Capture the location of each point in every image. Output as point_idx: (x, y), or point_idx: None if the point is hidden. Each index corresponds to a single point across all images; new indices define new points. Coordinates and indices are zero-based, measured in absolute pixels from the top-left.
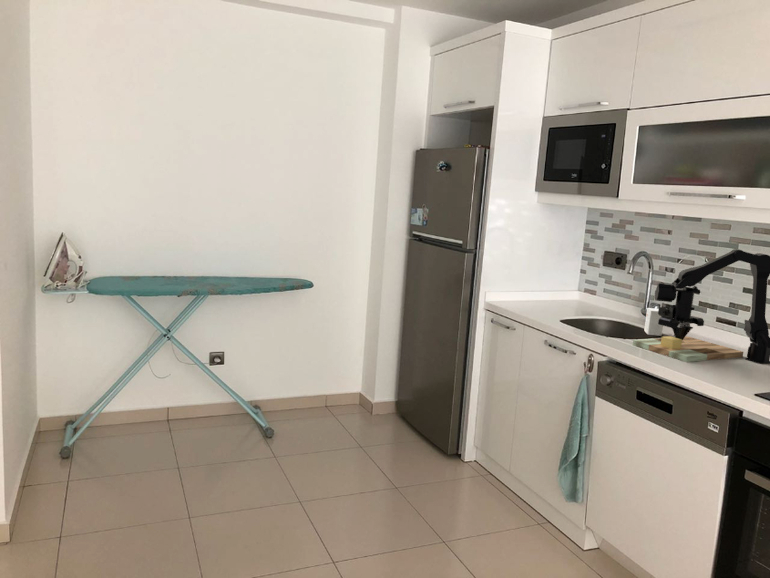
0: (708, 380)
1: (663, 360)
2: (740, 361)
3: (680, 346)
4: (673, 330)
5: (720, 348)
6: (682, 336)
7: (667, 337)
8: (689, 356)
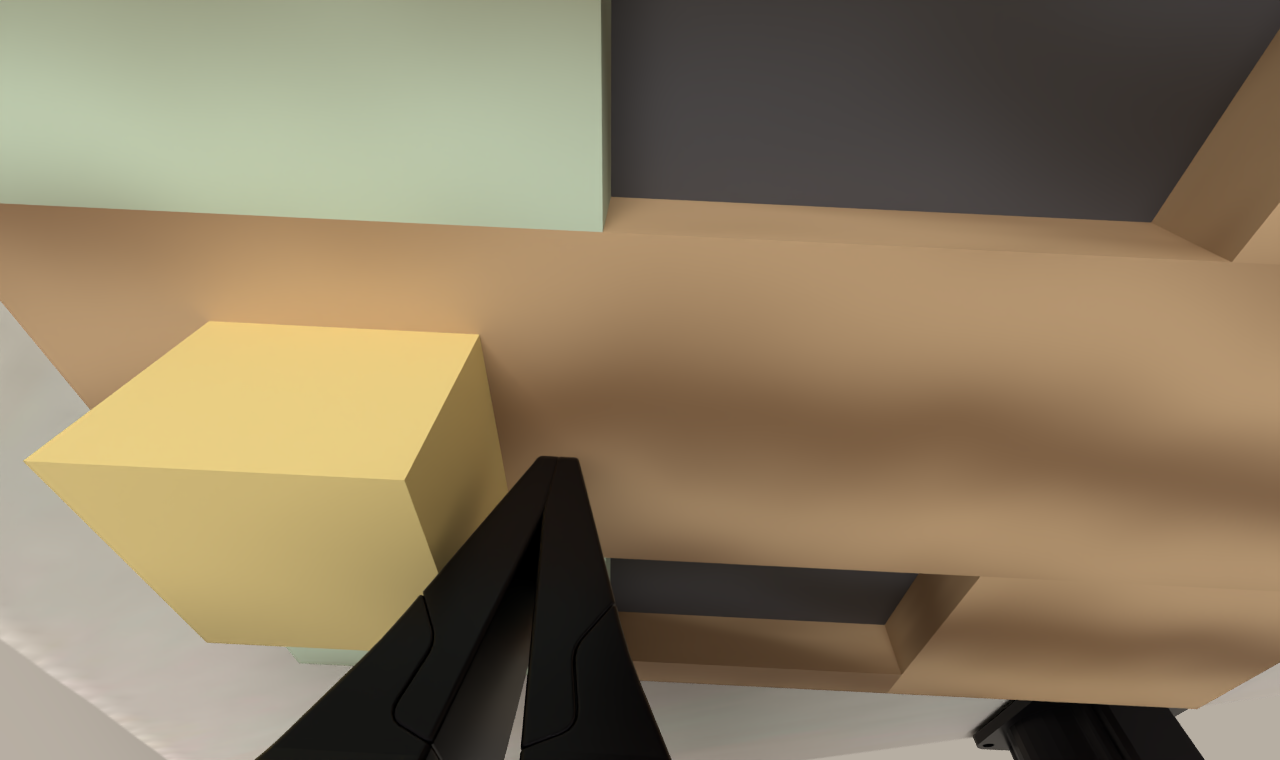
0: (209, 752)
1: (79, 541)
2: None
3: None
4: (294, 733)
5: (1159, 618)
6: (514, 688)
7: (185, 532)
8: (332, 663)
